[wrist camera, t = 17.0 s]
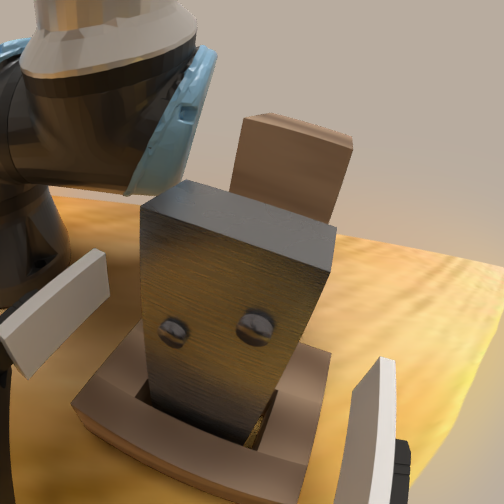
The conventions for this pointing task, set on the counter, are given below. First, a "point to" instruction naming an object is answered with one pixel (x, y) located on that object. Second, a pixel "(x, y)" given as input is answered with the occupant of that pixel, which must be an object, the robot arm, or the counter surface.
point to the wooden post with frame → (295, 374)
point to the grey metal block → (224, 301)
